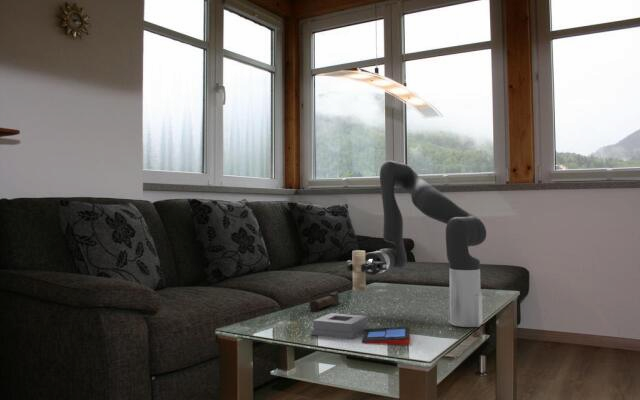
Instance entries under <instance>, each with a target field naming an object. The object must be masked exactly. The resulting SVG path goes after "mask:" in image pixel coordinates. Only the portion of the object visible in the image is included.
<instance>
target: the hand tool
mask: <svg viewBox="0 0 640 400" xmlns="http://www.w3.org/2000/svg"><path fill="white" fill-rule="evenodd" d="M339 302H340V296H339V292H338V291H334V292H329V294H328V295H327V296H325V297H322V298H319V299H316V300H310V301H309V309H310V311H312V310H315V311H314V312H317V311H320V310H321V309H323V308H326V307H329V306H336V305H338V304H339Z"/></svg>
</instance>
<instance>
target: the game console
mask: <svg viewBox="0 0 640 400" xmlns="http://www.w3.org/2000/svg"><path fill="white" fill-rule="evenodd" d="M409 343H410V328H409V327H407V326H397V327H396V326H395V327H394V326H393V327H379V328H376V327H374V328H373V327H372V328H370V329H367V330H366V331H365V332H364V333H363V337H362V340H361V344H369V345H371V344H373V345H398V346H399V345H402V346H403V345H408V344H409Z"/></svg>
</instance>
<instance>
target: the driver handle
mask: <svg viewBox="0 0 640 400" xmlns="http://www.w3.org/2000/svg"><path fill="white" fill-rule="evenodd" d="M351 254H352V255H351V256H352V266H353V271H352V290H353V291H357V292H359V291H366V289H367V288H366V287H367V286H366V280H367V279H366V273H365V272H361V265H362V264H365V254H366V250H360V249H359V250H357V249H356V250H352V253H351Z"/></svg>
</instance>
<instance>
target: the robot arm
mask: <svg viewBox="0 0 640 400" xmlns="http://www.w3.org/2000/svg"><path fill="white" fill-rule="evenodd" d="M379 170H380V171H379V183H380V185H379V186H380V191H381V192H380V194H381V200H382V208H383V230H382V231H383V234H382V235H383V241H385V242H387V243H391V244H394V247H395V248H381V249H379V250H376V251H375V250H374V251H371V252H365V264H362V265H361V272H365V275H369V276H375V275H378V274H381V273H384V272H385V271H388V270H390V269H403V268H405V266H406V265H407V263H408V257H407V252H406V249H405V243H404V238H403V237H404V236H403V235H404V233H403V231H404V230H403V229H404V220H403V214H402V211H401V209H400V208H399V205H398V202H397V199H396V197H395V188H400V189H402V190H404V191H406V192H407V193H408V194H410V197H411V201H412V204H413V206H415V207H416V208H417V210H418V211H420V212H421V213H422V214H424V215H425V216H426V217H428V218H430V219H432V220H435V221H437V222H440V223H442V224H446V226H445V245H446V247H445V248H446V258H447V261H448V264H449V265H448V267H449V322H450V325H452V326H455V327H462V328H480V327H481V326H482V324H483V294H482V292H481V262H480V259H479V258H476V257H474V256H472V255H471V254H470V252H469V247H475V246H478V245H481V244H483V243H484V242H485V240H486V239H487V230H486V226H485V225H484V223H483V222H482V220H481V219H480V218H478V217H477V216H475V215H474V214H472V213H469V212H468V211H467V210H465V209H463V208H462V207H460V206H459V205H458V204H456V203H455V202H453V201H452V200H451V199H450V198H448V197H447V196H446V195H444V194H443V193H442V192H441V191H440V190H438V189H437V188H436V187H434V186H433V185H431V183H429V182H427V181H426V180H425V179H423V178H422V177H421V176H419V175H418V173H417V172H416V171H415V170H413V168H412V167H411V166H410V165H408V164H406V163H403V162H399V161H394V160H386V161H384V162H383V163H382V165H381V166H380V169H379ZM346 270H347V272H353V266H352V260H351V259H349V260H346Z"/></svg>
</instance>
